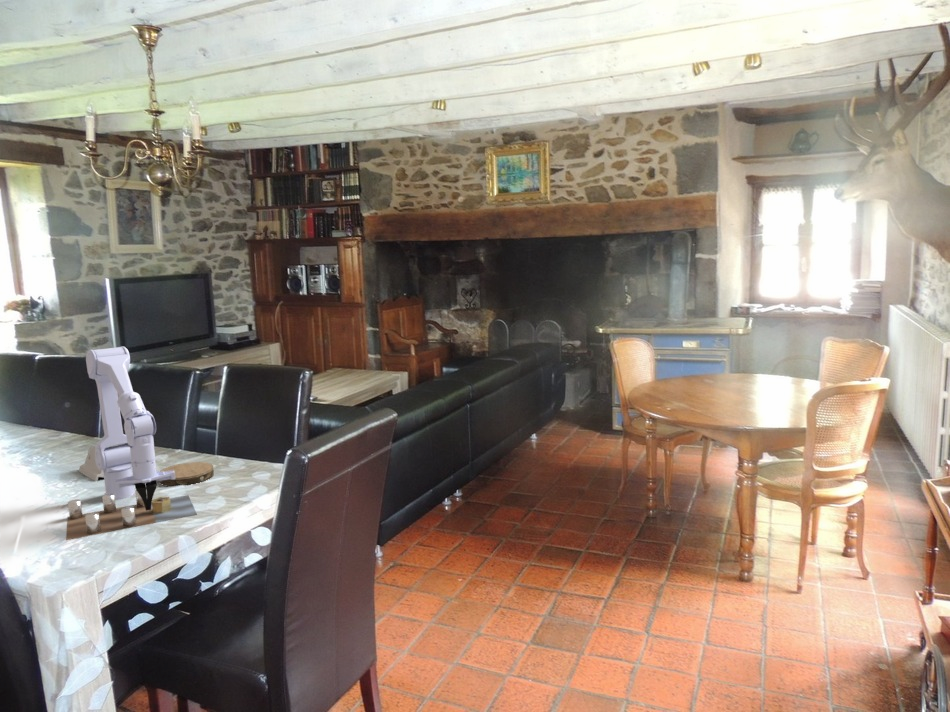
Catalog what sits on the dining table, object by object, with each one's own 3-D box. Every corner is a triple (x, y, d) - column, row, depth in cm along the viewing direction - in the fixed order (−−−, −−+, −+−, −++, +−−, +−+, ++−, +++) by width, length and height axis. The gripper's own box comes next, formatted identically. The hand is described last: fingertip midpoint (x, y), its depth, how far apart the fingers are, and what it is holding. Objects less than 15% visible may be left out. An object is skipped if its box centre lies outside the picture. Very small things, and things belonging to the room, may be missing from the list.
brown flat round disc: (148, 483, 211) (147, 474, 211) (190, 468, 225) (189, 459, 225) (183, 490, 204) (182, 480, 204) (224, 474, 218) (224, 465, 217)
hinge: (78, 471, 225) (86, 441, 226) (93, 472, 228) (101, 443, 229) (95, 481, 213) (104, 450, 214) (111, 483, 217) (119, 452, 218)
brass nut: (152, 509, 186) (151, 498, 185) (169, 506, 188) (168, 495, 187) (153, 515, 181) (152, 504, 181) (171, 511, 183) (170, 501, 183)
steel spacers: (69, 516, 181) (67, 500, 181) (148, 502, 191) (146, 487, 190) (68, 538, 167) (66, 521, 166) (153, 522, 176) (152, 505, 175)
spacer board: (68, 519, 182) (67, 516, 182) (188, 497, 196) (188, 495, 196) (66, 543, 166) (66, 540, 166) (197, 517, 181) (197, 514, 181)
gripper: (113, 468, 174) (118, 519, 176) (174, 459, 181) (179, 508, 183) (112, 461, 180) (117, 510, 182) (171, 452, 187) (176, 500, 189)
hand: (148, 509), depth 183 cm, fingers closed
